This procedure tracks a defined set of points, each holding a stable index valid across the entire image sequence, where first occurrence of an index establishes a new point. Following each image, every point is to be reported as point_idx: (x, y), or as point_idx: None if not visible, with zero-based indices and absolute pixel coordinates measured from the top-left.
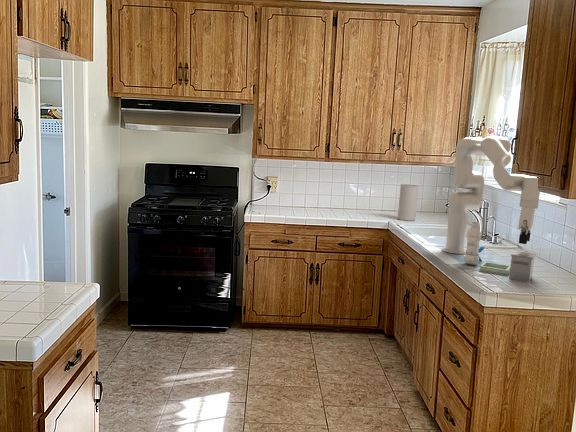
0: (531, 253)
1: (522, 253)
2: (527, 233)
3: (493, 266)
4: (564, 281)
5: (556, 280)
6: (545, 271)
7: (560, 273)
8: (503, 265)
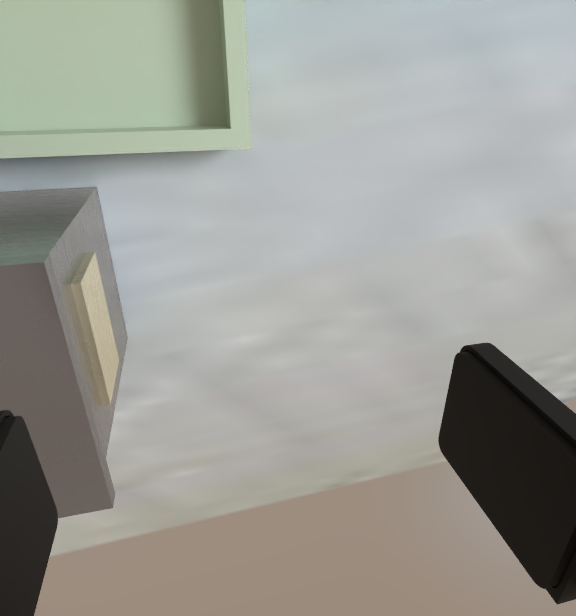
0: (78, 473)
1: None
2: (544, 537)
3: None
4: (211, 490)
5: (196, 459)
6: (433, 350)
7: (433, 421)
8: (226, 56)
